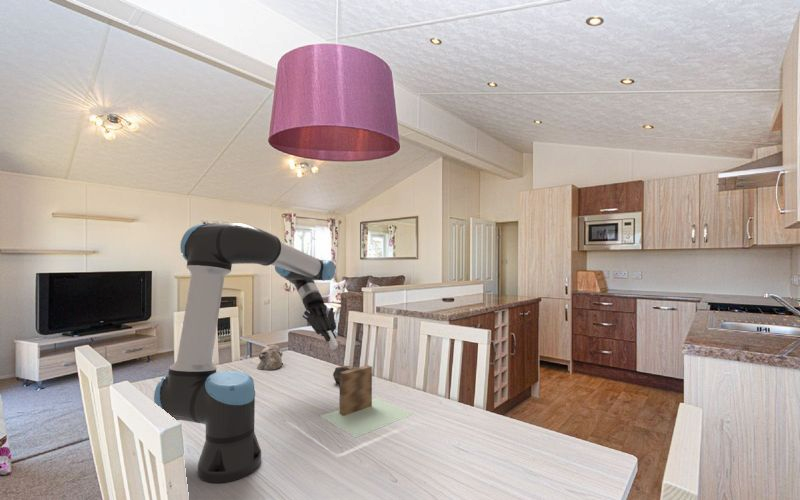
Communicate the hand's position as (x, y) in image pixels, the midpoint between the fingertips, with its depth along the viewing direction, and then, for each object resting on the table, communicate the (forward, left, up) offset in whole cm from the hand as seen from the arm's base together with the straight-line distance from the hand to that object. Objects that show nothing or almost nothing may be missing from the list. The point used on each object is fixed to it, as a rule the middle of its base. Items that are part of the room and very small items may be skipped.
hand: (335, 347), depth 141 cm
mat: (+2, -17, -21) cm, 27 cm away
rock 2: (+17, +14, -21) cm, 30 cm away
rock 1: (+2, +60, -21) cm, 64 cm away
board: (+2, -11, -20) cm, 23 cm away
